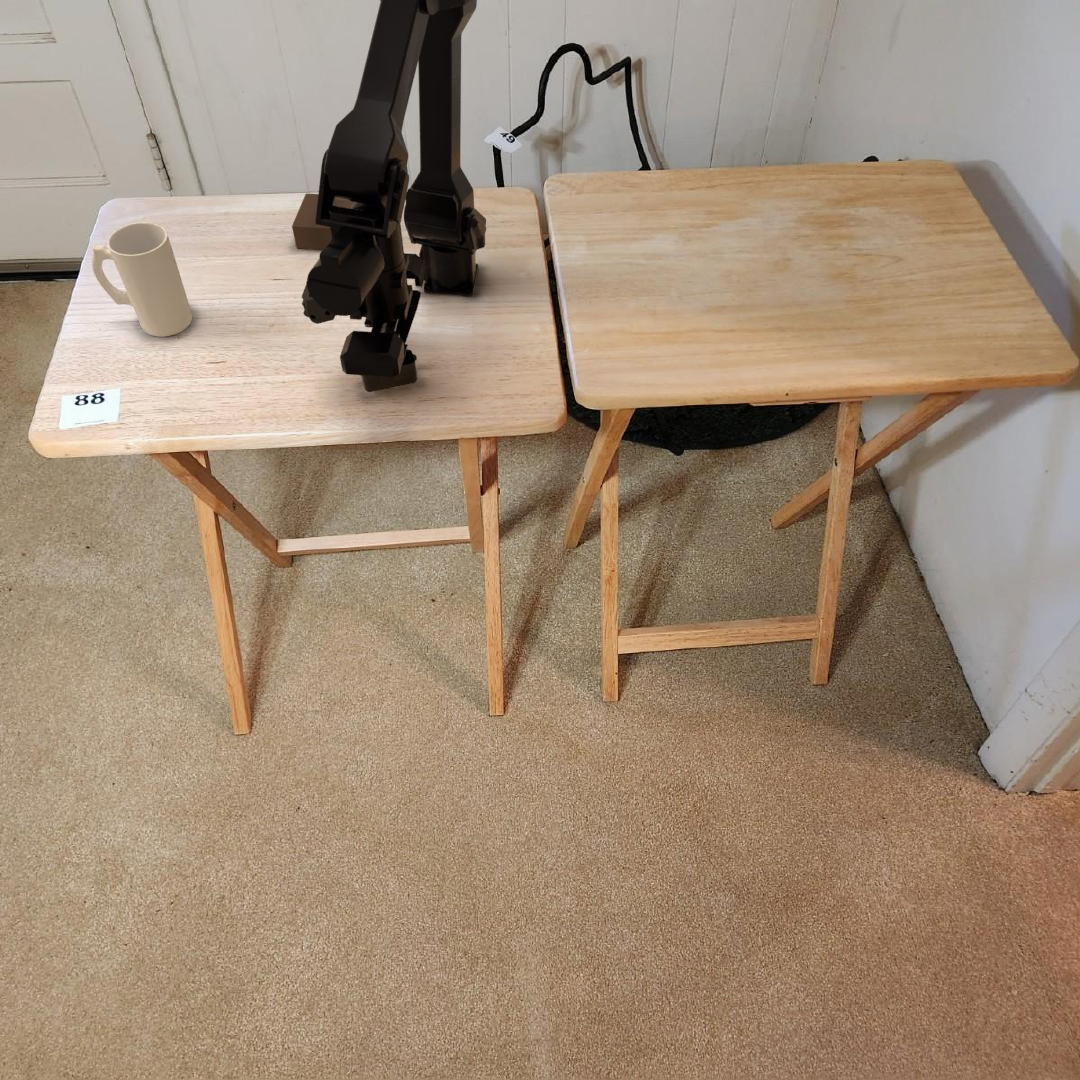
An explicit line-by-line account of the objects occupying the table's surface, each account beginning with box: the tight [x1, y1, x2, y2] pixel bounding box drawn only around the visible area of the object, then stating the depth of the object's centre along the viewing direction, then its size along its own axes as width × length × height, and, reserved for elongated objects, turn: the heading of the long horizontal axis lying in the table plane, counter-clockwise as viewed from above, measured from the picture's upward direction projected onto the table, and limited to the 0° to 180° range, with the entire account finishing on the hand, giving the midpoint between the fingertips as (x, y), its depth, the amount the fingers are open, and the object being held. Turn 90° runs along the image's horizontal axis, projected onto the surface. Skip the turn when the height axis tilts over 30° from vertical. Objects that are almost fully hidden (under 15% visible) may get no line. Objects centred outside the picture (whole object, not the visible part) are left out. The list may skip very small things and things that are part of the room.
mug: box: [91, 221, 193, 338], centre depth 118 cm, size 10×7×12 cm, turn 89°
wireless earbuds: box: [360, 348, 418, 393], centre depth 114 cm, size 5×7×3 cm, turn 108°
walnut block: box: [291, 193, 355, 251], centre depth 133 cm, size 8×8×4 cm
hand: (393, 369), depth 115 cm, fingers closed on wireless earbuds, 5 cm apart
